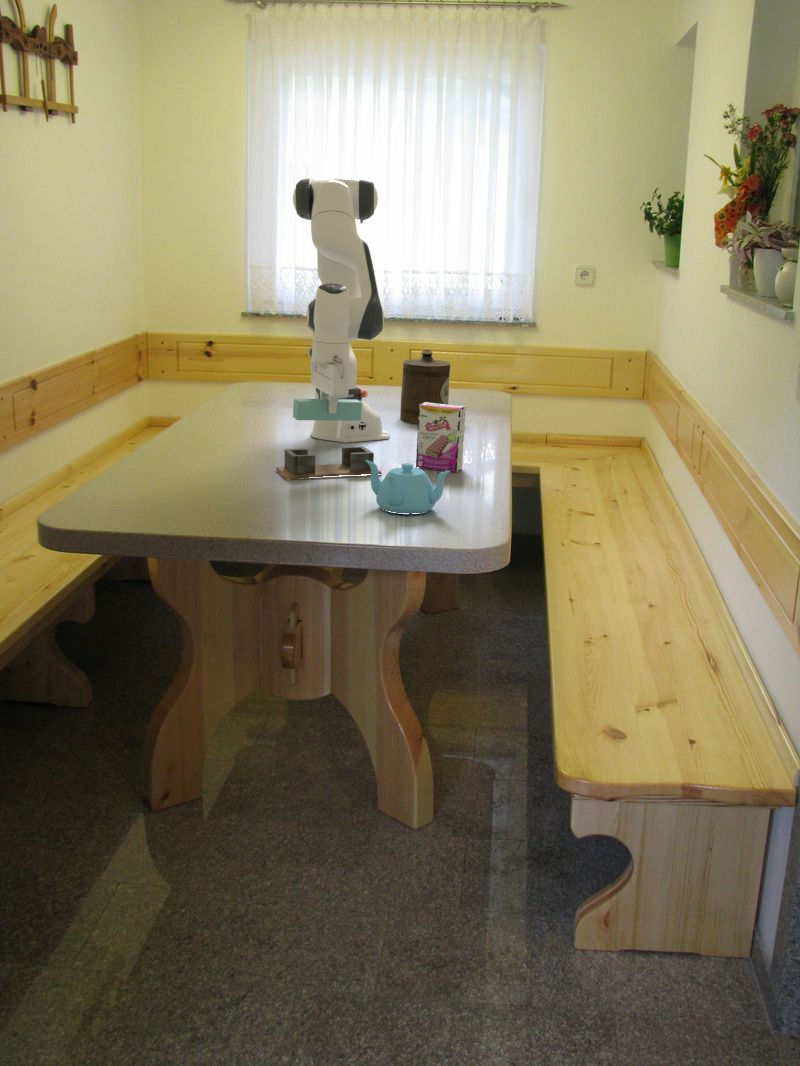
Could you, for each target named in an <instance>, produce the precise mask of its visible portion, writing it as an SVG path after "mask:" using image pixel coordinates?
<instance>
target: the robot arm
mask: <svg viewBox="0 0 800 1066" xmlns="http://www.w3.org/2000/svg"><path fill="white" fill-rule="evenodd" d="M378 201H379V196H378V192H377V188H376V187H375V183H374V182H373V181H372V180H371V179H369V178H365V177H359V178H357V177H351V176H350V177H349V176H336V175H335V176H333V177H331V176H330V177H329V176H328V177H318V178H311V177H309V178H308V177H307V178H302V179H300V180H299V181H298V182H297V183H296V184H295V187H294V190H293V193H292V202H293V207H294V210H295V211H296V214H297V216H298V217H300V218H301V219H304V220H308V221H310V232H311V241H312V244H313V245H314V247H315V248H316V250H317V252H316V253H317V254H316V255H317V257H316V258H317V259H316V260H317V276H318V279H319V280H320V283H321V284H320V285H319V286H318V287H317V290H316V293H315V295H316V296H315V298H314V299H313V300H312V301H311V302H310V303H308V307H307V309H306V320H307V322H308V324H307V327H308V328H309V329H310V330H311V332H312V337H313V338H312V345H311V346H310V347H309V349H308V357H310V379H311V381H310V382H311V385H312V386H313V387H314V388H315V392H314V399H329V405H328V410H327V411H328V412H329V413H330V414H335V413H336V406H337V403H338V400H339V399H350V400H359V401H360V402H362V410H361V421H336V420H313V424H312V425H313V426H312V429H311V433H310V437H312V438H314V439H319V440H325V441H335V442H339V443H354V442H365V441H377V440H389V439H390V433H389V432H388V431H387V430H385V429H383V425H382V424H383V423H382V420H381V417H380V414H379V413H378V412H377V411H375V409H373V408H372V407H371V406H369V405H368V404H367V403H366V402H365V401H364V400H363V399H364V398H367V397H368V396H369V392H368V391H367V390H366V389H360V388H359V387H357V374H358V373H357V371H358V360H357V358H356V355H355V353H354V350H353V346H352V343H351V341H352V340H358V339H361V340H367V341H371V340H373V339H374V338H376V337H377V336H379V335H380V334H381V333H382V332H383V328H384V324H385V314H384V313H385V312H384V310H383V306H382V302H381V299H380V294H379V291H378V290H379V289H378V285H377V280H376V279H377V278H376V275H375V268H374V264H373V259H372V255H371V251H370V248H369V245H368V243H367V242H366V241H364V240H363V239H362V238H361V237H360V235H359V234H358V231H357V223H356V220H359V221H360V224H363V223H364V221H365V220H369V219H370V218H371V217H372V216H373V215H374V214H375V212H376V209H377V206H378Z"/></svg>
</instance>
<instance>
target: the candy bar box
mask: <svg viewBox="0 0 800 1066" xmlns="http://www.w3.org/2000/svg"><path fill="white" fill-rule="evenodd" d="M465 421H466V406H465V405H453V404H448V405H446V404H437V403H428V402H424V403H422V404H420V405H419V415H418V424H417V439H416V440H417V441H416V459H415V467H419V468H420V469H424V468H427V469H426V470H431V469H436V470H435V471H440V470H447V471H453V472H452V473H458V472H459V471H461V470H462V468H463V456H464V455H463V453H464V440H465V439H464V438H465V425H466V424H465ZM457 471H458V472H457Z"/></svg>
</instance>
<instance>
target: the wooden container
mask: <svg viewBox="0 0 800 1066" xmlns="http://www.w3.org/2000/svg"><path fill="white" fill-rule="evenodd" d="M450 372H451V363H450V362H449V361H445V360H441V359H440V360H437V359H434V358H433V351H432V350H431V349H424V350H422V351H421V357H420V358H418V359H417V358H413V359H405V360H404V361H403V364H402V377H401V378H402V379H401V380H402V382H401V395H400V414H399V417H400V418H399V419H400V420H401V421H403V422H405V423H409V424H417V425H418V415H419V405H420V404H422V403H424V402H428V403H437V404H446V405H449V401H450V399H449V398H450V397H449V396H450Z"/></svg>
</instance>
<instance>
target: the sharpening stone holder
mask: <svg viewBox="0 0 800 1066" xmlns="http://www.w3.org/2000/svg"><path fill="white" fill-rule="evenodd" d="M374 455H375V454H374V452H373V451H372V450H370V449H368V448H367V447H365V446H363V445H361V446H342V447H341V463H328V464H316V462H317V461H316V460H317V457H316V456H317V455H316V454H314V453H313V454H309V449H308V448H289V449H288V448H285V449H284V466H282V465H281V466H276V470H277V471H278V472H279V473H280V474H281V475H280V476H281V477H283V476H284V477H285V478H286V479H299V478H309V477H323V476H339V475H361V474H371V468H370V466H369V464H368V463H367V462H366V460H369V461H372V462H373V463H374V459H375V458H374ZM277 471H276V472H277ZM278 472H277V473H278ZM279 473H278V474H279ZM378 474H381V475H382V470H380V469H378ZM284 477H283V478H284ZM285 478H284V479H285ZM286 479H285V480H286ZM299 480H300V479H299Z"/></svg>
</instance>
